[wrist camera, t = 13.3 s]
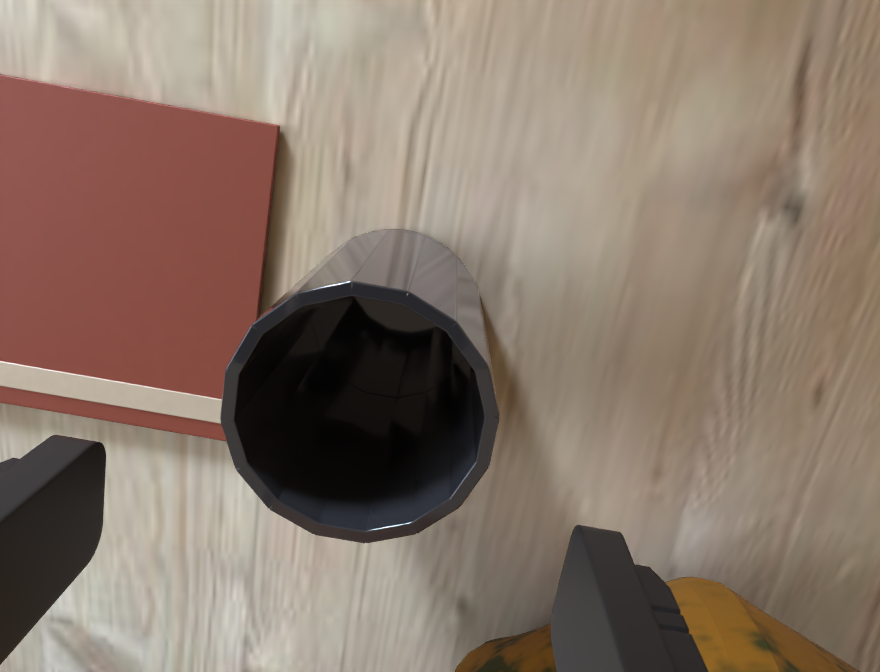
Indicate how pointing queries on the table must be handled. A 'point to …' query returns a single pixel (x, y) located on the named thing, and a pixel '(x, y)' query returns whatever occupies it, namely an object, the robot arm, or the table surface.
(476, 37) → the table surface
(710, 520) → the table surface
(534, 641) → the decorative pumpkin
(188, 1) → the table surface
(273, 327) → the black cup
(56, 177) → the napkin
